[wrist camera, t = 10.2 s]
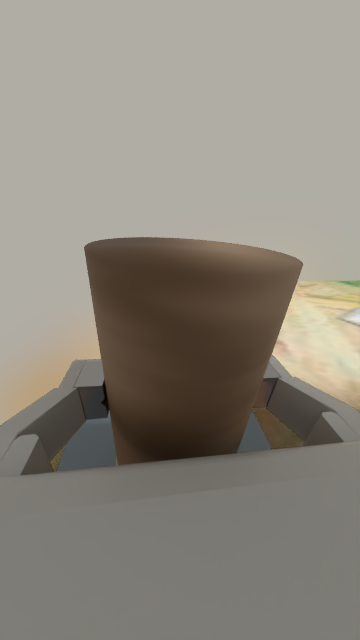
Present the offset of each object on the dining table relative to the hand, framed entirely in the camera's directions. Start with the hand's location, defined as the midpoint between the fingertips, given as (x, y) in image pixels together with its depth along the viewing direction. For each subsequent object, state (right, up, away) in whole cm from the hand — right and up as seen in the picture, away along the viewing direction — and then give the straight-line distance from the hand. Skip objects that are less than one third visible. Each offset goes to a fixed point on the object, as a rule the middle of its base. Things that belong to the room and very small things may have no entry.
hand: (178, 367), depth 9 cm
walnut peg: (0, -8, +3) cm, 8 cm away
